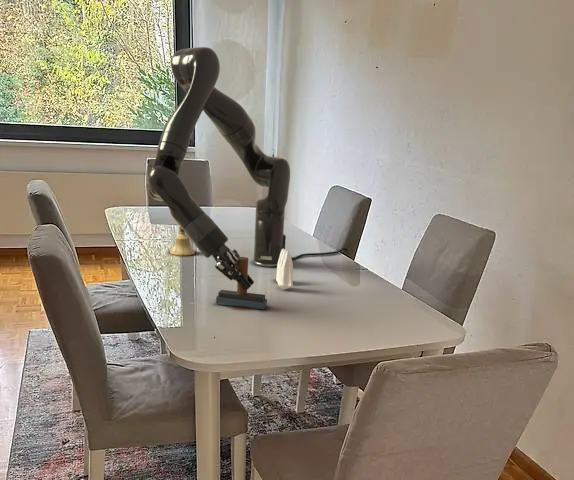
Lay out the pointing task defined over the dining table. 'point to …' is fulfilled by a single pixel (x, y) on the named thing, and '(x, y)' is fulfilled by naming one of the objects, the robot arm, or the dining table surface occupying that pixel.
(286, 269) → the shaker set
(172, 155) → the robot arm
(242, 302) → the sponge wiper
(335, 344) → the dining table surface
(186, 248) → the hand bell
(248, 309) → the brown round coaster
